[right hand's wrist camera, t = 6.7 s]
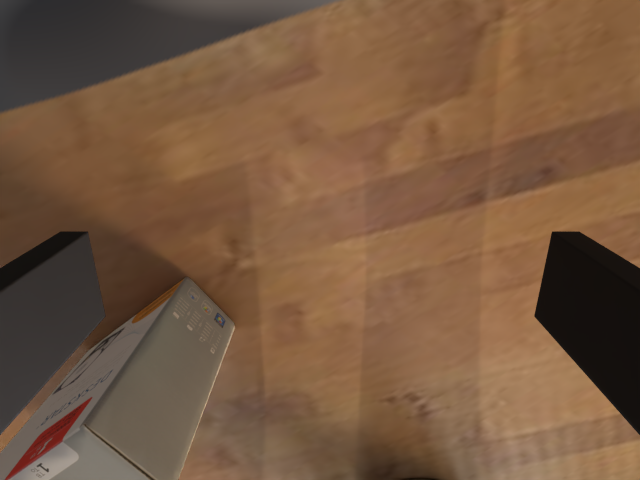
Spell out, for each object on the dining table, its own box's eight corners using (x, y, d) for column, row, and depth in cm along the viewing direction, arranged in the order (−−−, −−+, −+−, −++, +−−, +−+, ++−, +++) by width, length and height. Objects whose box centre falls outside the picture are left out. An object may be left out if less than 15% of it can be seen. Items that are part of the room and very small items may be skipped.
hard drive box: (187, 272, 43) (86, 422, 24) (238, 324, 45) (181, 498, 27) (84, 351, 46) (-74, 535, 28) (135, 395, 49) (21, 594, 30)
